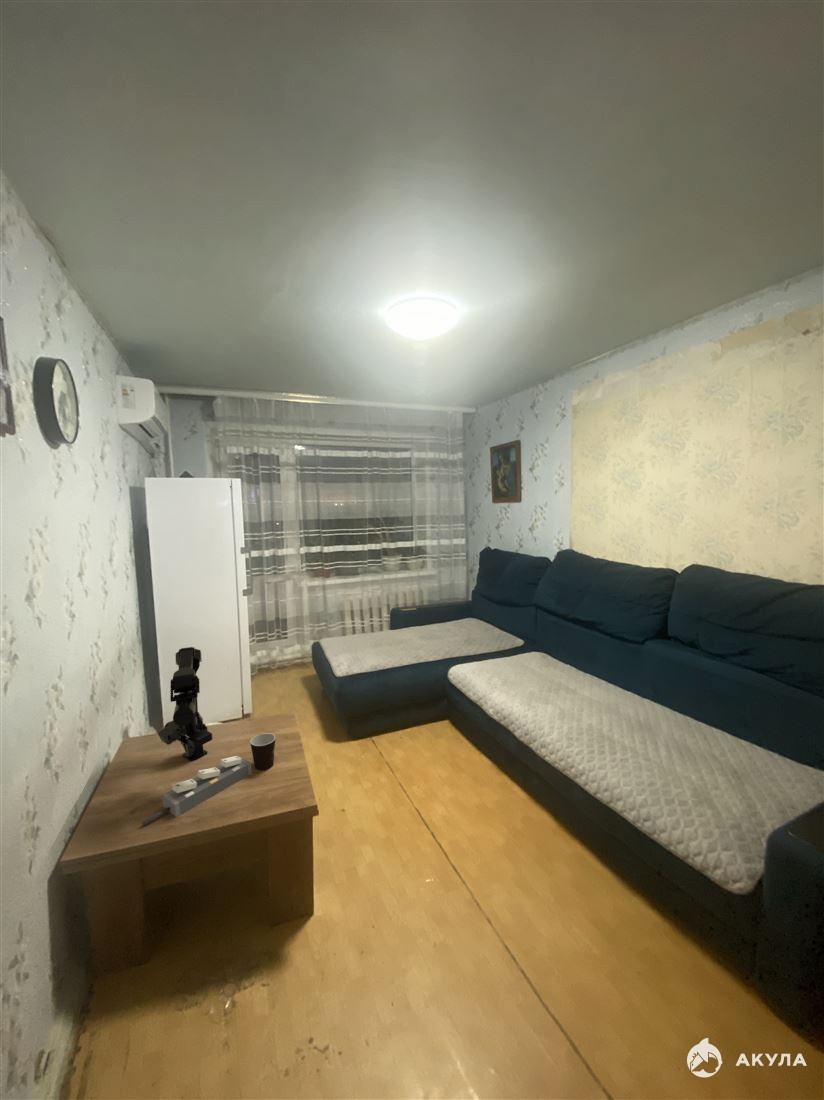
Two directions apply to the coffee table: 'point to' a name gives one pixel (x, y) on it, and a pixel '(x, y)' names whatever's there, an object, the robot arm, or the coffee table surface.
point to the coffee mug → (263, 751)
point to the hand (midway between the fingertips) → (189, 756)
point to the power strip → (202, 790)
